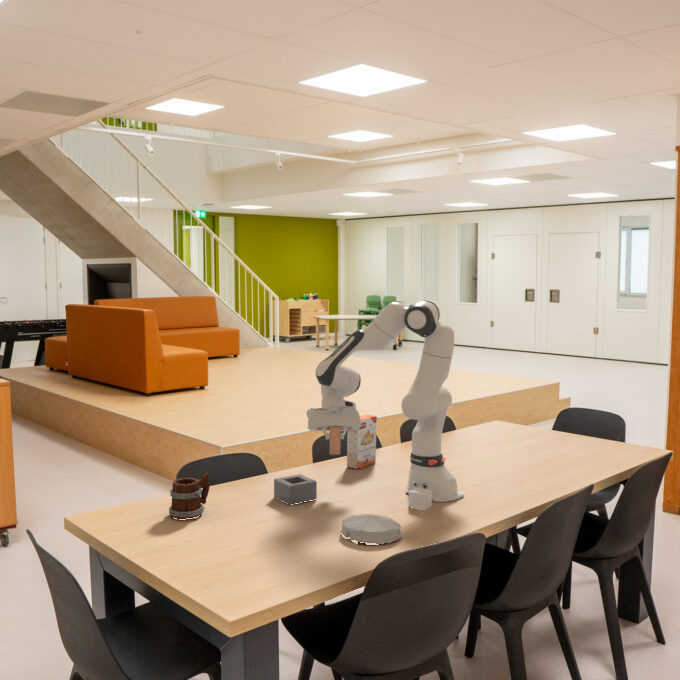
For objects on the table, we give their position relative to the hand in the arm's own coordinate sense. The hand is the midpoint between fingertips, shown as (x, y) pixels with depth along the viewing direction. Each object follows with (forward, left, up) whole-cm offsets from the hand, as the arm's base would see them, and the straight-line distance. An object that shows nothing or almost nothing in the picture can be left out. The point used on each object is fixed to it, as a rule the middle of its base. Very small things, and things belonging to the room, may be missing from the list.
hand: (335, 438), depth 267 cm
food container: (-43, +16, -21) cm, 51 cm away
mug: (+6, +56, -20) cm, 60 cm away
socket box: (0, +18, -20) cm, 27 cm away
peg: (+1, 0, -6) cm, 6 cm away
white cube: (-32, -14, -20) cm, 41 cm away
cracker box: (+23, -29, -20) cm, 42 cm away
